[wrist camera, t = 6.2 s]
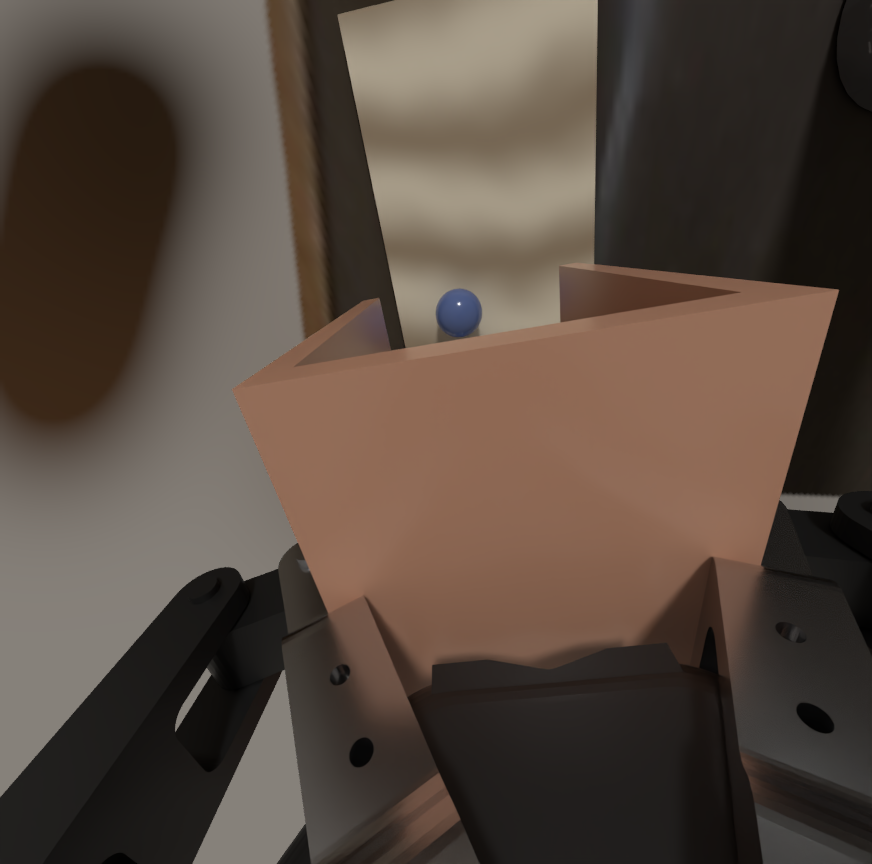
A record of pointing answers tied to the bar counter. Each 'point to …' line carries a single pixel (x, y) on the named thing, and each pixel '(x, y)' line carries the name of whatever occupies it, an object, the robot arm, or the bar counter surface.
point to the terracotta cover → (542, 463)
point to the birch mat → (478, 151)
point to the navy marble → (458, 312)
